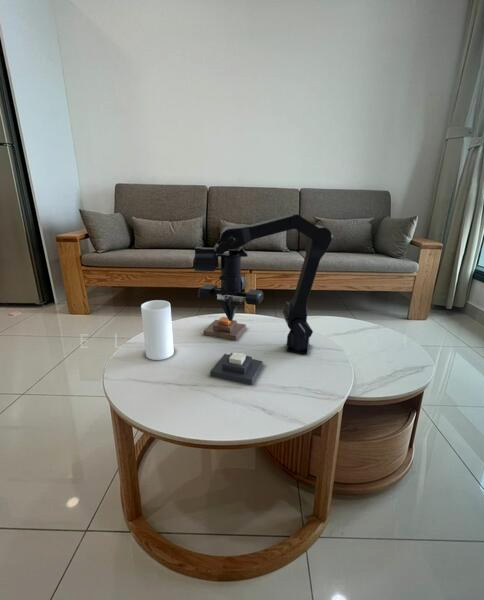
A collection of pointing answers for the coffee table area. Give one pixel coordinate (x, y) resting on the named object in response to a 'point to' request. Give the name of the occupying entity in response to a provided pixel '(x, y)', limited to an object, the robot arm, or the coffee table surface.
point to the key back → (224, 321)
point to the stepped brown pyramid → (225, 330)
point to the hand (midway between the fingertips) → (230, 320)
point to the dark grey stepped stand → (237, 370)
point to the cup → (157, 329)
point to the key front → (237, 358)
